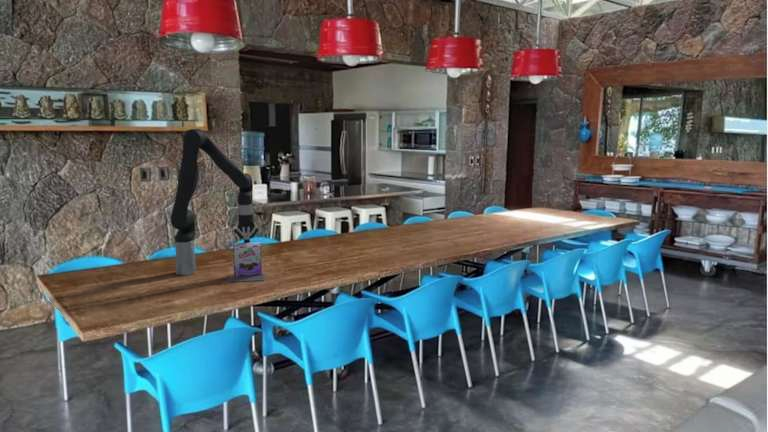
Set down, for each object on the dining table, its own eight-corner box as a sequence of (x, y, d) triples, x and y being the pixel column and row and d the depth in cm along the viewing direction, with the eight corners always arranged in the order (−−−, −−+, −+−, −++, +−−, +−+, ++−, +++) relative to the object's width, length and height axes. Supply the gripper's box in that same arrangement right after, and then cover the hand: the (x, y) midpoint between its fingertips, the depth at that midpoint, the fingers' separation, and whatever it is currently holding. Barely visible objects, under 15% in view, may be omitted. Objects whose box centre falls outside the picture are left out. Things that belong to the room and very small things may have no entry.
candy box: (234, 277, 272) (232, 247, 266) (234, 272, 277) (232, 242, 272) (262, 275, 276) (261, 245, 270) (261, 270, 281) (260, 241, 275)
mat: (226, 282, 262) (226, 281, 262) (228, 277, 271) (228, 277, 271) (264, 280, 265) (264, 280, 265) (265, 276, 273) (265, 275, 273)
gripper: (231, 214, 268) (233, 248, 271) (258, 213, 270) (259, 247, 273) (233, 212, 275) (234, 245, 278) (259, 211, 277) (260, 244, 280)
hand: (247, 246), depth 276 cm, fingers closed
